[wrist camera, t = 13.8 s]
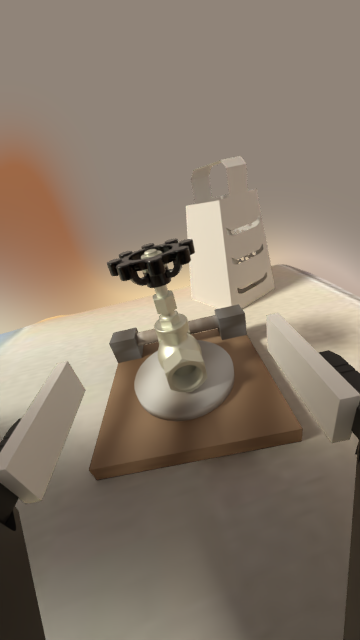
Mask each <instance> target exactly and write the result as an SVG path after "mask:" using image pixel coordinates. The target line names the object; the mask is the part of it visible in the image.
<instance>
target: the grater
mask: <svg viewBox="0 0 360 640" xmlns="http://www.w3.org/2000/svg"><path fill="white" fill-rule="evenodd" d="M219 163H223V165H224V166H225V167H226V170H227V180H228V190H229V194H228V195H222V196H218V197H215V198H212V193H211V185H210V178H209V174H210V170H211V167H212V166H214V165H216V164H219ZM191 183H192V189H193V195H194V200H195V203H194V204H191V205H187V206H186V218H187V234H188V239H192V240H193V244H194V249H195V253H194V254H192V255H190V257H191V261H190V262H189V266H190V281H191V298H192V300H195V301H198V302H200V303H203V304H206V305H208V306H211V307H214V308H217V309H220V308H224V307H229V306H233V305H237V304H239V306H240V307H241V308H244V307H246V306H247V305H249V304H250V303H252V302H254V301H255V300H257V299H259V298H260V297H262V296H263V295H265V294H267V293H268V292H270V291H271V290H273V289H275V285H274V280H273V274H272V269H271V264H270V258H269V253H268V248H267V242H266V236H265V232H264V226H263V221H262V215H261V210H260V204H259V199H258V193H257V189H253V190H248V184H247V168H246V163H245V161H244V160H243V159H242V158H241V156H238V157H233V158H229V159H224V160H219V161H217V162H214V163H211V164H209V165H206V166H203V167H200V168H198V169H195V170H193V173H192V177H191ZM249 223H252V226H248V224H249ZM245 225H246V226H245ZM244 226H245V227H244ZM237 229H238V230H239V231H240V233H238V234H237V233H236V230H237ZM242 229H244V230H245V231H243V232H241V230H242ZM247 229H248V230H247ZM232 230H234V231H235V234H232V233H231V231H232ZM252 252H256V255H253V254H252ZM248 254H250V255H248ZM242 257H244V260H243V261H242V260H241V259H240V258H242ZM245 257H248V258H249V259H248V260H245ZM251 257H252V258H251ZM238 259H239V260H238ZM239 262H241V263H240V264H239ZM251 284H257V286H255V287H253V288H252V289H250V290H248V291H246V292H245V293H241V294H238V290H237V288H239V289H244V288H245V287H247V286H249V285H251Z"/></svg>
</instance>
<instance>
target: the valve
mask: <svg viewBox="0 0 360 640" xmlns="http://www.w3.org/2000/svg"><path fill="white" fill-rule="evenodd" d="M162 253H163V254H162ZM194 253H195V249H194V244H193V240H192V239H187V240H183V241H180V242H179V243H178V239H171V240H167V241H166V242H165V243H164V244H161V245H156V246H155V245H154V244H153V243H150V244H146V245H143V246H142V249H141V250H138V251H135V252H132V251H126V252H123V253H121V254H119V259H114V260H111V261H109V262H107V265H108V268H109V271H110V273H111V275H112V276H118V275H119V276H120V279H121V280H122V281H127V280H131V281H132V282H133V283H135V284H137V285H142V286H143V285H147V286H148V287H150V288H154V289H155V292H156V294H155V295H154V296H153V300H154V303H155V306H156V309H157V312H158V314H161V315H160V316H159V320H158V321H157V322H156V323H155V325H154V328H155V331H156V334H157V337H158V342H159V348H158V360H159V363H160V365H161V367H162V368H163V370H164V371H165V375H166V378H167V381H168V384H169V387H170V389H171V390H173V391H177V392H192V391H194V390H195V389H197V388H198V387H200V386H201V385H202V384H203V383H204V382H205V381H206V379H207V372H206V368H205V364H204V361H203V359H202V351H201V347H200V345H199V343H198V341H197V340H196V339H195V338H194V337H193V336H192V335H191V334H190V331H189V324H188V321H187V317H186V316H185V315H183V314H178V312H177V311H174V310H175V309H177V306H176V302H175V299H174V295H173V292H172V291H169V290H167V286H166V284H168V283H169V282H170V281H171V278H172V277H175V276H176V275H177V274H178V273H179V272H180V270H181V268H182V265H184V264H187V263H189V262H190V261H191V257H190V255H192V254H194ZM172 261H173V263H174V268H173V269H168V265H167V263H169V262H172ZM141 270H142V271H143V274H144V277H142V278H139V276H138V274H137V271H141Z"/></svg>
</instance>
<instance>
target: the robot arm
mask: <svg viewBox="0 0 360 640" xmlns="http://www.w3.org/2000/svg"><path fill="white" fill-rule="evenodd" d="M266 327H267V350H268V351H269V353H270V354H271V356H272V357H273V359H274V360H275V362H276V363H277V364H278V366H279V367H280V369H281V370H282V372H283V373H284V375H285V376H286V378H287V379H288V380H289V382H290V383H291V385H292V386H293V388H294V389H295V391H296V392H297V394H298V395H299V396H300V398H301V399H302V401H303V402H304V404H305V405H306V407H307V408H308V410H309V411H310V412H311V414H312V415H313V417H314V418H315V420H316V421H317V423H318V424H319V426H320V427H321V428H322V430H323V431H324V433H325V434H326V436H327V437H328V439H329V440H330V442H331V443H335V442H340V441H345V440H350V437H351V433H352V432H353V433H354V434H355V435H356V437H357V438H358V439H359V442H358V446H357V449H356V453H355V454H356V455H357V465H356V478H355V492H354V505H353V518H352V532H351V545H350V558H349V572H348V585H347V598H346V612H345V625H344V638H343V640H360V373H359V372H358V371H356V370H355V369H354V368H353V367H352V366H351V365H349V364H348V362H346V361H345V360H344V359H343V358H342V357H341V356H339V355H337V354H335V353H333V352H331V351H329V350H328V351H324V352H319V353H318V352H317V351H316V350H315V349H314V348H313V347H312V346H311V345H310V344H309V343H308V342H307V341H306V340H305V339H304V338H303V337H302V336H301V335H300V334H299V333H298V332H297V331H296V330H295V329H294V328H293V327H292V326H291V325H290V324H289V323H288V322H287V321H286V320H285V319H284V318H283V317H282V316H281V315H280V314H279V313H274V314H270V315H266ZM85 391H86V390H85V388H84V387H83V385H82V383H81V382H80V380H79V379H78V377H77V375H76V374H75V372H74V370H73V369H72V367H71V366H70V364H69V362H68V361H65V362H61V363H57V364H56V365H55V367H54V368H53V370H52V372H51V373H50V375H49V376H48V378H47V379H46V381H45V383H44V384H43V386H42V387H41V389H40V391H39V392H38V394H37V395H36V397H35V398H34V400H33V402H32V403H31V405H30V406H29V408H28V409H27V411H26V413H25V414H24V416H23V417H22V418H21V419H18V421H17V422H16V423H15V424H14V425H13V426H12V427H11V428H10V429H9V430H8V432H7V433H6V435H5V436H4V439H3V440H2V441H1V442H0V640H45V635H44V630H43V626H42V621H41V616H40V611H39V607H38V602H37V597H36V592H35V588H34V583H33V578H32V573H31V569H30V564H29V559H28V554H27V550H26V545H25V540H24V535H23V531H22V526H21V521H20V517H19V512H18V510H17V508H16V507H15V504H16V502H17V500H18V498H19V499H20V500H21V501H23V502H24V503H25V504H29V503H34V502H39V501H42V499H43V496H44V494H45V491H46V489H47V486H48V484H49V481H50V479H51V476H52V474H53V471H54V469H55V466H56V464H57V461H58V459H59V456H60V454H61V451H62V449H63V446H64V444H65V441H66V438H67V436H68V433H69V431H70V428H71V426H72V423H73V421H74V418H75V416H76V413H77V411H78V408H79V406H80V403H81V401H82V398H83V396H84V393H85Z"/></svg>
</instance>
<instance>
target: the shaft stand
mask: <svg viewBox="0 0 360 640" xmlns="http://www.w3.org/2000/svg"><path fill="white" fill-rule="evenodd" d="M188 324H189V331H190V334H191V335H192V336H193V337H194V338H195V339H196V340H197V341H198V343H199V345H200V347H201V351H202V359H203V361H204V364H205V368H206V372H207V379H206V381H205V382H204V383H203V384H202V385H201V386H200V387H198V388H197V389H195V390H194V391H192V392H177V391H173V390H171V389H170V387H169V384H168V381H167V378H166V375H165V371H164V370H163V368H162V367H161V365H160V363H159V360H158V348H159V342H158V337H157V334H156V331H155V329H152V330H148V331H143V332H139V333H138V331H137V328H132V329H128V330H124V331H119V332H115V333H113V335H112V338H111V341H110V343H109V344H110V346H111V349H112V351H113V353H114V355H115V357H116V359H117V361H118V366H117V370H116V374H115V377H114V381H113V384H112V388H111V392H110V395H109V399H108V402H107V406H106V410H105V413H104V417H103V421H102V424H101V428H100V431H99V435H98V439H97V442H96V446H95V449H94V453H93V457H92V460H91V464H90V467H89V471H90V472H91V474H92V475H93V476H94V477H95V478H96V480H100V479H105V478H110V477H115V476H121V475H126V474H131V473H136V472H142V471H147V470H152V469H157V468H163V467H168V466H173V465H178V464H184V463H189V462H194V461H199V460H205V459H210V458H215V457H220V456H226V455H231V454H236V453H241V452H246V451H252V450H257V449H262V448H267V447H273V446H278V445H283V444H288V443H294V442H299V441H302V427H301V425H300V424H299V422H298V420H297V419H296V417H295V415H294V414H293V412H292V410H291V408H290V407H289V405H288V403H287V402H286V400H285V398H284V397H283V395H282V393H281V392H280V390H279V388H278V387H277V385H276V383H275V382H274V380H273V378H272V376H271V375H270V373H269V371H268V370H267V368H266V366H265V365H264V363H263V361H262V360H261V358H260V356H259V355H258V353H257V351H256V350H255V348H254V346H253V344H252V343H251V341H250V339H249V338H248V336H247V332H246V321H245V313H244V311H243V310H242V308H241V307H240V306H239V304H237V305H233V306H229V307H224V308H220V309H216V310H215V315H214V316H209V317H205V318H200V319H196V320H192V321H188ZM216 328H218V329H216ZM212 329H214V330H212ZM207 330H209V331H207ZM203 331H205V332H203ZM198 332H200V333H198ZM194 333H196V334H194ZM154 342H155V343H154ZM149 343H151V344H149ZM145 344H147V345H145Z"/></svg>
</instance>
